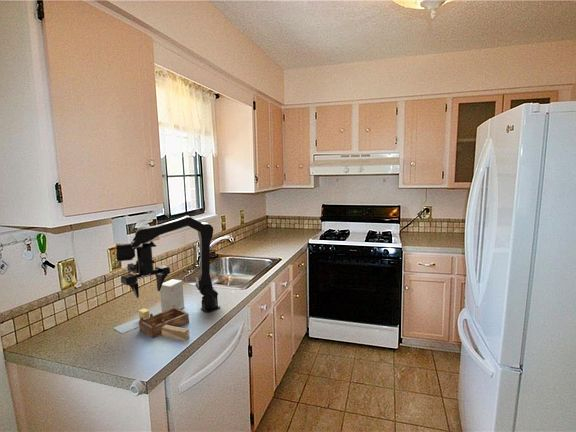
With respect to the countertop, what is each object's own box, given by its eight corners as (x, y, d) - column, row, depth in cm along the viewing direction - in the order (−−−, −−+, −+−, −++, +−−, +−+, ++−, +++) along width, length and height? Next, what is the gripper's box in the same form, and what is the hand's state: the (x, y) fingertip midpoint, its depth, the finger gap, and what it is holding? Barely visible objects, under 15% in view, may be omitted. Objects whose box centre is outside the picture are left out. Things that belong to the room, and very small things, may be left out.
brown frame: (175, 316, 143) (174, 304, 143) (189, 322, 137) (188, 310, 136) (139, 330, 131) (138, 318, 131) (152, 338, 125) (151, 325, 124)
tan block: (166, 333, 129) (165, 324, 128) (189, 338, 125) (188, 329, 124) (161, 336, 127) (161, 327, 126) (185, 341, 123) (184, 332, 122)
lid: (145, 317, 144) (144, 306, 143) (154, 322, 139) (153, 310, 139) (113, 329, 134) (112, 317, 133) (121, 334, 129) (120, 323, 128)
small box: (174, 305, 155) (172, 278, 153) (184, 307, 153) (182, 280, 151) (161, 312, 148) (158, 284, 146) (172, 314, 145) (169, 286, 143)
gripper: (156, 250, 147) (159, 284, 150) (112, 260, 133) (116, 296, 136) (169, 254, 140) (172, 289, 143) (125, 264, 126) (129, 303, 128)
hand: (148, 294), depth 138 cm, fingers open, 9 cm apart
